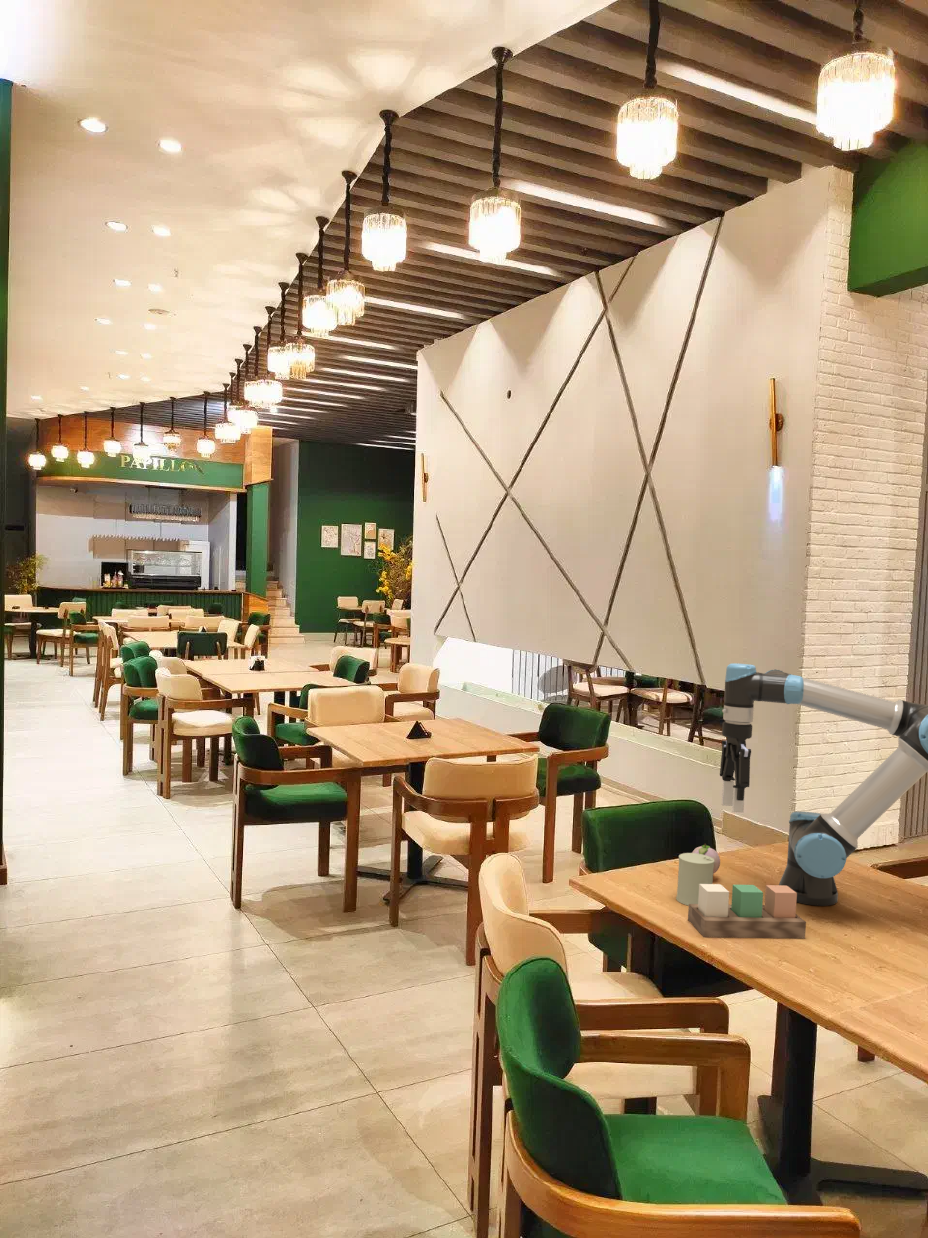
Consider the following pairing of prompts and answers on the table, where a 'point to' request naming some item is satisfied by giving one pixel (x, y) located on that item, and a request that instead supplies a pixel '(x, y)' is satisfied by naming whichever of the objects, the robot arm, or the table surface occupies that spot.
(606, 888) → the table surface
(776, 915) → the terracotta block
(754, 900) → the green block
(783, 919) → the walnut board
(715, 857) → the decorative fruit
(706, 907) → the cream block
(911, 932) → the table surface
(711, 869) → the can
